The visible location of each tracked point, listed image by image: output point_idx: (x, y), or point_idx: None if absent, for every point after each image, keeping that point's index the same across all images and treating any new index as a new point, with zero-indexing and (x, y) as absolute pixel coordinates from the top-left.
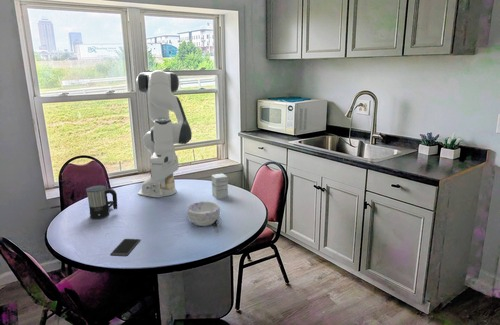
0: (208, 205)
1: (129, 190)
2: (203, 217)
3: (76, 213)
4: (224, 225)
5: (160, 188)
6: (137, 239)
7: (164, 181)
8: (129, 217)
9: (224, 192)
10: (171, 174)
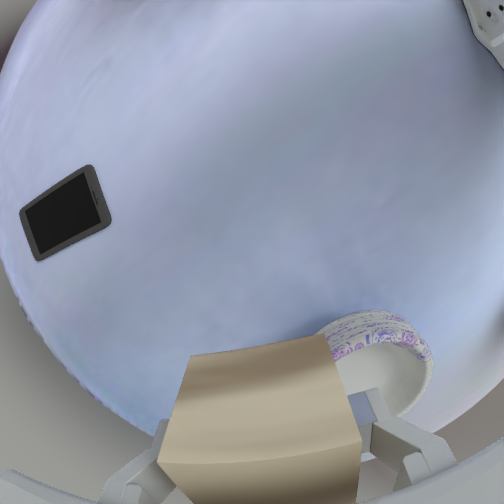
0: (414, 372)
1: None
2: None
3: None
4: None
5: (191, 369)
6: (104, 214)
7: (155, 498)
8: (268, 17)
9: None
10: (395, 490)
